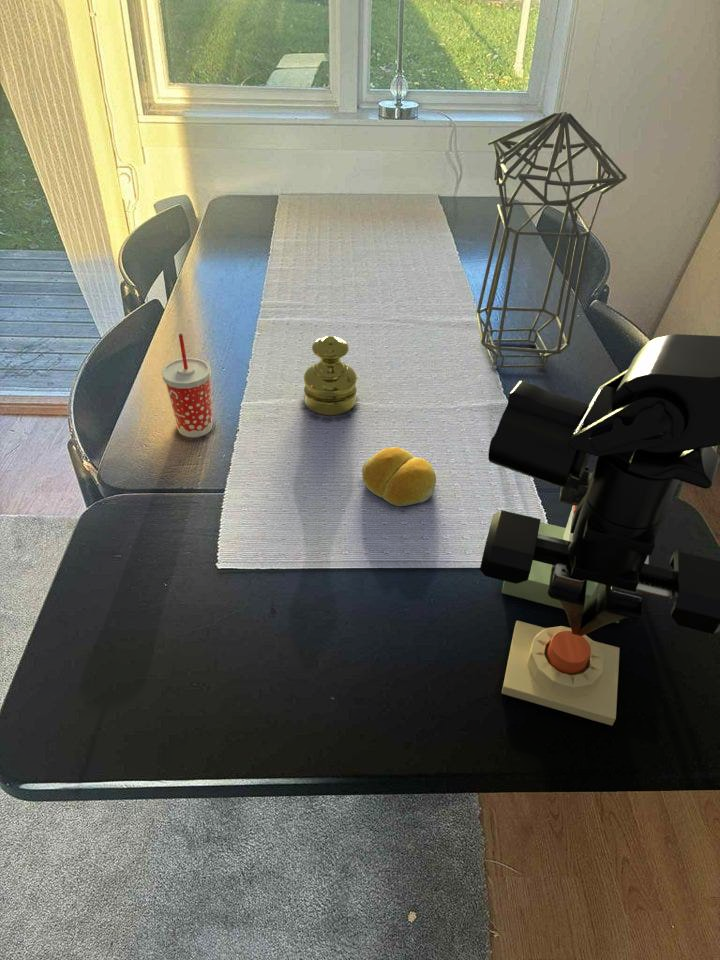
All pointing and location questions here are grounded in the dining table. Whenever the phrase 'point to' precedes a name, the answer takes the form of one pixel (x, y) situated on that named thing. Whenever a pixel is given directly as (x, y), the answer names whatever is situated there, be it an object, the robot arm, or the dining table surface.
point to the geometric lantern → (543, 133)
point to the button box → (562, 675)
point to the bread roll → (399, 477)
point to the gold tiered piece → (330, 379)
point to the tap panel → (543, 577)
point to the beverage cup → (189, 393)
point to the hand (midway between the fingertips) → (577, 631)
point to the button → (568, 652)
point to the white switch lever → (569, 525)
